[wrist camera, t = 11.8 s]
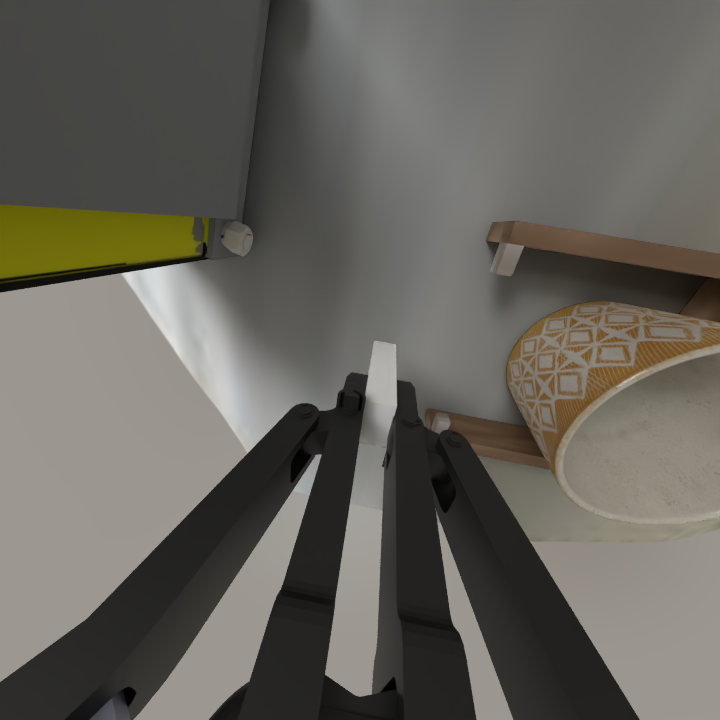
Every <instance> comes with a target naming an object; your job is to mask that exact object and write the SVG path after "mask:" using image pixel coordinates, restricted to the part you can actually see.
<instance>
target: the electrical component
mask: <svg viewBox="0 0 720 720" xmlns="http://www.w3.org/2000/svg"><path fill="white" fill-rule="evenodd" d="M269 4H270V0H0V292H6V291H12V290H18V289H24V288H31V287H37V286H43V285H50V284H55V283H62V282H68V281H74V280H81V279H87V278H93V277H99V276H105V275H111V274H118V273H124V272H131V271H137V270H143V269H149V268H156V267H162V266H168V265H174V264H181V263H187V262H193V261H199V260H206V259H211V260H213V259H219V258H225V257H231V256H237V255H240V256H245V255H246V254H248V252H249V251H250V249H251V246H252V242H253V233H252V230H251V229H250V228H249V227H248V226H247V225H244V224H242V219H243V211H244V203H245V195H246V187H247V179H248V171H249V163H250V155H251V147H252V139H253V131H254V124H255V116H256V108H257V100H258V92H259V84H260V76H261V68H262V60H263V52H264V44H265V36H266V28H267V20H268V12H269Z"/></svg>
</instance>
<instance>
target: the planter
mask: <svg viewBox="0 0 720 720" xmlns="http://www.w3.org/2000/svg"><path fill="white" fill-rule="evenodd" d="M506 377H507V384H508V387H509V390H510V392H511V394H512V396H513V398H514V400H515V402H516V404H517V406H518V408H519V410H520V412H521V413H522V415H523V417H524V419H525V421H526V423H527V425H528V427H529V429H530V431H531V433H532V434H533V436H534V438H535V440H536V442H537V444H538V446H539V448H540V450H541V452H542V453H543V455H544V457H545V459H546V461H547V463H548V465H549V467H550V469H551V471H552V472H553V474H554V476H555V478H556V480H557V482H558V484H559V486H560V487H561V489H562V491H563V492H564V493H565V495H566V496H567V497H568V498H569V499H570V500H571V501H573V502H574V503H575V504H577V505H578V506H580V507H581V508H583V509H585V510H587V511H589V512H591V513H593V514H596V515H598V516H601V517H604V518H608V519H611V520H616V521H620V522H626V523H634V524H649V525H665V524H681V523H690V522H698V521H704V520H709V519H714V518H719V517H720V323H719V322H714V321H709V320H704V319H699V318H694V317H689V316H684V315H679V314H674V313H669V312H664V311H659V310H654V309H649V308H644V307H639V306H634V305H629V304H624V303H619V302H611V301H594V302H586V303H581V304H577V305H573V306H570V307H567V308H564V309H561V310H559V311H557V312H554V313H552V314H551V315H549V316H547V317H545V318H544V319H542V320H541V321H539V322H538V323H536V324H535V325H534V326H533V327H531V328H530V329H529V330H528V331H527V332H526V333H525V334H524V335H523V336H522V338H521V339H520V340H519V341H518V343H517V344H516V346H515V347H514V349H513V351H512V353H511V355H510V358H509V361H508V365H507V371H506Z"/></svg>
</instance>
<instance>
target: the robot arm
mask: <svg viewBox="0 0 720 720" xmlns="http://www.w3.org/2000/svg"><path fill="white" fill-rule="evenodd" d="M359 442H360V443H365V444H370V445H375V446H380V447H385V448H386V444H387V451H386V454H385V458H384V461H383V465H382V467H384V491H383V518H382V540H381V565H380V566H381V567H380V591H379V615H378V638H377V650H376V655H375V661H374V670H373V684H372V695H367V696H363V697H358V696H355V695H353V694H352V693H350V692H349V691H348V690H346V689H345V688H343V687H342V686H340V685H339V684H338V683H336V682H335V681H333V680H332V679H330V678H329V677H327V676H326V675H325V669H326V663H327V656H328V649H329V642H330V636H331V629H332V622H333V615H334V608H335V597H336V591H337V584H338V577H339V570H340V564H341V558H342V551H343V544H344V538H345V531H346V524H347V518H348V511H349V505H350V498H351V492H352V485H353V479H354V472H355V465H356V459H357V452H358V446H359ZM317 454H322V456H321V460H320V463H319V466H318V470H317V473H316V476H315V480H314V483H313V486H312V490H311V493H310V496H309V499H308V503H307V506H306V509H305V513H304V516H303V519H302V523H301V526H300V529H299V533H298V536H297V540H296V543H295V546H294V549H293V553H292V556H291V559H290V563H289V566H288V569H287V573H286V576H285V579H284V582H283V585H282V588H281V590H280V592H279V593H278V595H277V597H276V600H275V602H274V605H273V608H272V611H271V614H270V617H269V621H268V624H267V627H266V630H265V634H264V637H263V640H262V643H261V646H260V650H259V653H258V656H257V659H256V662H255V665H254V669H253V672H252V675H251V678H250V682H248V683H246V684H245V685H244V686H242V687H241V688H240V689H238V690H237V691H236V692H234V693H233V695H231V696H230V697H229V698H228V699H227V700H226V701H225V702H224V703H223V704H222V705H221V706H220V707H219V709H218V710H217V711H216V712H215V713H214V714H213V715H212V717H211V718H210V719H209V720H476V714H475V709H474V703H473V696H472V690H471V684H470V678H469V672H468V666H467V660H466V655H465V650H464V645H463V643H462V639H461V637H460V634H459V632H458V631H457V630H456V629H455V627H454V626H453V623H452V620H451V616H450V610H449V602H448V596H447V589H446V582H445V574H444V567H443V560H442V553H441V546H440V539H439V532H438V525H437V518H436V511H437V514H438V516H439V519H440V522H441V525H442V527H443V530H444V533H445V535H446V538H447V541H448V543H449V546H450V549H451V552H452V554H453V557H454V560H455V562H456V565H457V568H458V571H459V573H460V576H461V579H462V581H463V584H464V587H465V590H466V592H467V595H468V597H469V600H470V603H471V606H472V608H473V611H474V614H475V617H476V619H477V622H478V625H479V627H480V630H481V632H482V635H483V638H484V641H485V643H486V646H487V649H488V652H489V654H490V657H491V660H492V663H493V665H494V668H495V671H496V673H497V676H498V679H499V681H500V684H501V687H502V690H503V692H504V695H505V698H506V701H507V703H508V706H509V709H510V711H511V714H512V717H513V720H639V718H638V716H637V715H636V713H635V711H634V710H633V708H632V707H631V705H630V703H629V702H628V700H627V699H626V697H625V695H624V694H623V692H622V690H621V689H620V687H619V685H618V684H617V682H616V681H615V679H614V678H613V676H612V674H611V673H610V671H609V669H608V668H607V666H606V664H605V663H604V661H603V659H602V658H601V656H600V655H599V653H598V651H597V650H596V648H595V647H594V645H593V643H592V642H591V640H590V638H589V637H588V635H587V633H586V632H585V630H584V629H583V627H582V625H581V624H580V622H579V621H578V619H577V617H576V616H575V614H574V612H573V611H572V609H571V608H570V606H569V605H568V603H567V601H566V599H565V598H564V596H563V595H562V593H561V591H560V590H559V588H558V586H557V585H556V583H555V582H554V580H553V578H552V577H551V575H550V573H549V572H548V570H547V569H546V567H545V565H544V564H543V562H542V560H541V559H540V558H539V556H538V554H537V552H536V551H535V549H534V547H533V546H532V544H531V543H530V541H529V539H528V538H527V536H526V534H525V533H524V531H523V530H522V528H521V526H520V525H519V523H518V521H517V520H516V518H515V517H514V515H513V513H512V512H511V510H510V508H509V507H508V505H507V504H506V502H505V500H504V499H503V497H502V495H501V494H500V492H499V491H498V489H497V487H496V486H495V484H494V482H493V481H492V479H491V478H490V476H489V474H488V473H487V471H486V469H485V468H484V466H483V465H482V463H481V461H480V460H479V458H478V456H477V455H476V453H475V452H474V450H473V448H472V447H471V445H470V443H469V442H468V440H467V439H466V438H465V437H464V436H463V435H462V434H460V433H458V432H456V431H454V430H443V431H442V432H440V434H438V433H436V432H434V431H431V430H429V429H428V428H426V427H425V426H424V425H423V422H422V420H421V419H420V418H419V417H418V410H417V402H416V395H415V388H414V387H413V385H412V384H411V383H410V382H405V381H399V380H397V375H396V344H391V343H386V342H380V341H375V340H374V344H373V349H372V355H371V360H370V365H369V371H368V375H364V374H358V373H353V372H352V373H350V374H349V375H348V376H347V378H346V381H345V385H344V388H343V389H342V390H341V391H340V392H339V393H338V397H337V405H336V407H335V408H334V409H332V410H328V411H319V410H318V408H317V407H316V406H314V405H312V404H308V403H301V404H298V405H295V406H294V407H293V408H291V409H290V411H289V412H288V413H287V414H286V415H285V416H284V417H283V418H282V419H281V420H280V421H279V422H278V423H277V424H276V425H275V426H274V427H273V428H272V429H271V430H270V431H269V432H268V433H267V434H266V435H265V436H264V437H263V438H262V439H261V440H260V441H259V442H258V443H257V444H256V445H255V447H254V448H253V449H252V450H251V451H250V452H249V453H248V454H247V455H246V456H245V457H244V458H243V459H242V460H241V461H240V462H239V463H238V464H237V465H236V466H235V467H234V468H233V469H232V470H231V471H230V472H229V473H228V474H227V475H226V476H225V478H223V479H222V480H221V482H220V483H219V484H218V485H217V486H216V487H215V488H214V489H213V490H212V491H211V492H210V493H209V494H208V495H207V496H206V497H205V498H204V499H203V500H202V501H201V502H200V503H199V504H198V505H197V506H196V507H195V508H194V509H193V510H192V511H191V512H190V513H189V515H187V516H186V518H185V519H184V520H183V521H182V522H181V523H180V524H179V525H178V526H177V527H176V528H175V529H174V530H173V531H172V532H171V533H170V534H169V535H168V536H167V537H166V538H165V539H164V540H163V541H162V542H161V543H160V544H159V545H158V546H157V547H156V548H155V549H154V550H153V551H152V553H151V554H150V555H149V556H148V557H147V558H146V559H145V560H144V561H143V562H142V563H141V564H140V565H139V566H138V567H137V568H136V569H135V570H134V571H133V572H132V573H131V574H130V575H129V576H128V577H127V578H126V579H125V580H124V581H123V582H122V583H121V584H120V585H119V586H118V588H117V589H116V590H115V591H114V592H113V593H112V594H111V595H110V596H109V597H108V598H107V599H106V600H105V601H104V602H103V603H102V604H101V605H100V606H99V607H98V608H97V609H96V610H95V611H94V612H93V613H92V614H91V615H90V616H89V617H88V618H87V619H86V620H85V621H83V622H82V623H81V624H79V625H78V626H76V627H75V628H74V629H72V630H71V631H70V632H68V633H67V634H65V635H64V636H63V637H61V638H60V639H59V640H57V641H56V642H55V643H53V644H52V645H50V646H49V647H48V648H46V649H45V650H44V651H42V652H41V653H40V654H38V655H37V656H35V657H34V658H33V659H31V660H30V661H29V662H27V663H26V664H25V665H23V666H22V667H20V668H19V669H18V670H16V671H15V672H13V673H12V674H11V675H9V676H8V677H7V678H5V679H4V680H3V681H1V682H0V720H133V719H134V718H135V717H136V716H137V715H138V714H139V713H140V712H141V711H142V709H143V708H144V707H145V706H146V704H147V703H148V702H149V701H150V699H151V698H152V697H153V696H154V694H155V693H156V692H157V691H158V690H159V688H160V687H161V686H162V685H163V683H164V682H165V681H166V679H167V678H168V677H169V675H170V674H171V672H172V671H173V670H174V668H175V667H176V665H177V664H178V662H179V661H180V660H181V658H182V657H183V655H184V654H185V653H186V651H187V650H188V648H189V646H190V645H191V643H192V642H193V640H194V639H195V637H196V636H197V634H198V633H199V631H200V630H201V628H202V627H203V625H204V624H205V622H206V621H207V619H208V618H209V616H210V615H211V613H212V611H213V610H214V609H215V607H216V605H217V604H218V603H219V601H220V599H221V598H222V596H223V595H224V594H225V592H226V590H227V589H228V587H229V586H230V584H231V583H232V581H233V580H234V578H235V577H236V575H237V574H238V572H239V571H240V569H241V568H242V566H243V565H244V563H245V562H246V560H247V559H248V557H249V556H250V554H251V553H252V551H253V550H254V548H255V547H256V545H257V543H258V542H259V541H260V539H261V537H262V536H263V534H264V533H265V531H266V530H267V528H268V527H269V525H270V524H271V522H272V521H273V519H274V518H275V516H276V515H277V513H278V512H279V510H280V509H281V507H282V506H283V504H284V503H285V501H286V500H287V498H288V497H289V495H290V494H291V492H292V491H293V489H294V488H295V486H296V484H297V483H298V481H299V480H300V478H301V477H302V475H303V474H304V472H305V471H306V469H307V468H308V466H309V465H310V463H311V462H312V460H313V459H314V457H315V455H317ZM435 508H436V510H435Z"/></svg>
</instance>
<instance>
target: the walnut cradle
mask: <svg viewBox="0 0 720 720" xmlns="http://www.w3.org/2000/svg"><path fill="white" fill-rule="evenodd" d="M486 241H491V242H497V243H500V244H499V247H498V250H497V252H496V255H495V258H494V260H493V263H492V266H491V268H490V272H492V273H495V274H499V275H505V276H511V277H512V274H513V272H514V269H515V267H516V265H517V262H518V260H519V257H520V255H521V253H522V250H523V248H524V247H527V248H533V249H539V250H545V251H551V252H557V253H563V254H569V255H575V256H581V257H587V258H593V259H599V260H605V261H611V262H618V263H624V264H630V265H636V266H642V267H648V268H654V269H660V270H666V271H672V272H678V273H684V274H690V275H696V276H702V277H708V278H707V279H706V280H705V282H704V283H703V284H702V285H701V287H700V288H699V289H698V291H697V292H696V293H695V294H694V296H693V297H692V298H691V300H690V301H689V302H688V304H687V305H686V306H685V307H684V309H683V310H682V311H681V313H680V314H679V315H684V316H689V317H694V318H699V319H704V320H709V321H714V322H719V323H720V254H716V253H710V252H704V251H698V250H692V249H686V248H679V247H673V246H667V245H661V244H655V243H649V242H643V241H636V240H630V239H624V238H618V237H612V236H606V235H600V234H593V233H587V232H581V231H575V230H569V229H563V228H557V227H550V226H544V225H538V224H532V223H526V222H520V221H508V222H493V223H492V225H491V228H490V231H489V234H488V237H487V240H486ZM425 421H426V427H427V428H428V429H429V430H431V431H434V432H436V433H438V434H440V432H442V431H443V430H454V431H456V432H458V433H460V434H462V435H463V436H464V437H465V438H466V439H467V440H468V442H469V443H470V445H471V447H472V448H473V450H474V452H475V453H476V455H480V456H485V457H490V458H495V459H500V460H505V461H510V462H515V463H521V464H526V465H531V466H536V467H541V468H546V469H550V467H549V465H548V463H547V461H546V459H545V457H544V455H543V453H542V452H541V450H540V448H539V446H538V444H537V442H536V440H535V438H534V436H533V434H532V433H531V431H530V429H529V428H528V427H522V426H517V425H512V424H507V423H501V422H496V421H491V420H486V419H480V418H475V417H470V416H465V415H459V414H454V413H449V412H444V411H439V410H433V409H428V410H427V412H426V415H425Z"/></svg>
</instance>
